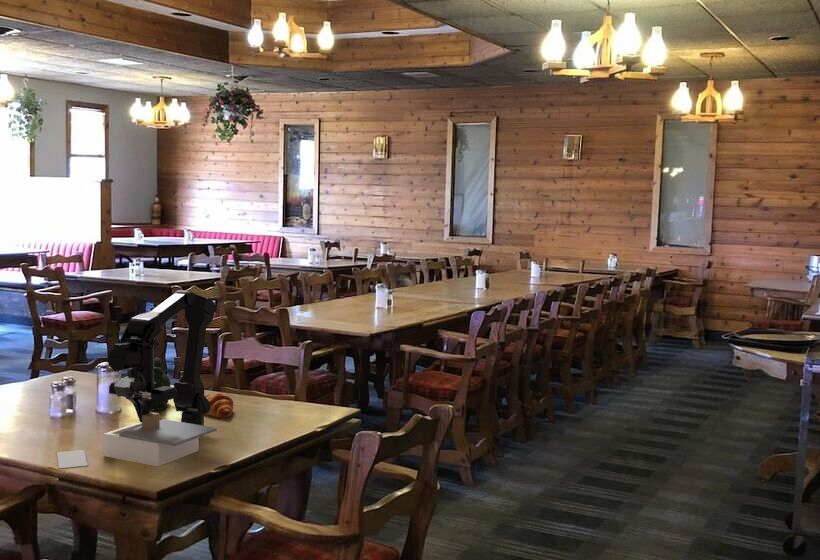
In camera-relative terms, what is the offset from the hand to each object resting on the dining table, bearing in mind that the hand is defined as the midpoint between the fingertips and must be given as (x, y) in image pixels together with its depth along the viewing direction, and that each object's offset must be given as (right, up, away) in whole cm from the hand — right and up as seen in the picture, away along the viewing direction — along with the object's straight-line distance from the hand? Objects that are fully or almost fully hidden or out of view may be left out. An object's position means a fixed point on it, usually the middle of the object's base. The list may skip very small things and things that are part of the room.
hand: (142, 422), depth 230 cm
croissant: (+10, -5, +45) cm, 46 cm away
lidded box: (+3, -8, -1) cm, 9 cm away
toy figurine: (-11, -4, +49) cm, 51 cm away
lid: (+8, -2, -3) cm, 9 cm away
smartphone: (-16, -9, -8) cm, 20 cm away
